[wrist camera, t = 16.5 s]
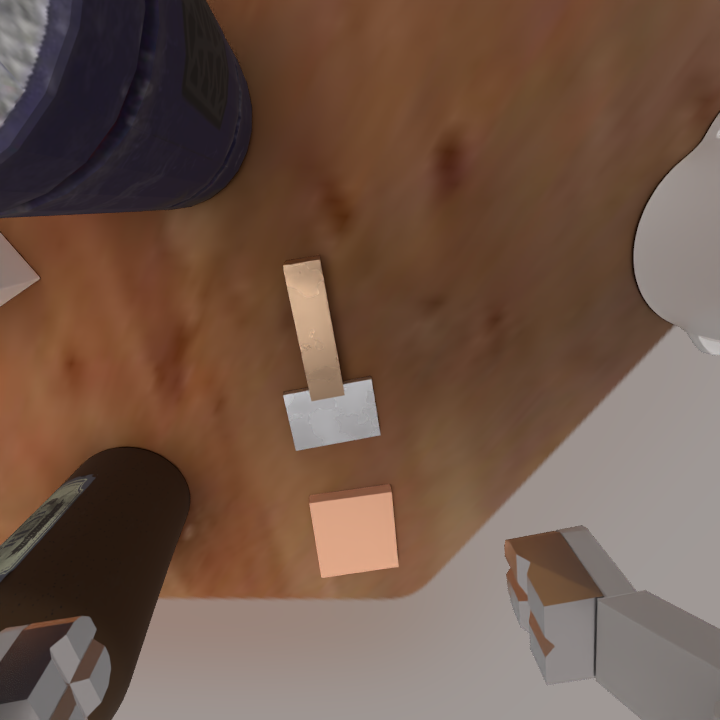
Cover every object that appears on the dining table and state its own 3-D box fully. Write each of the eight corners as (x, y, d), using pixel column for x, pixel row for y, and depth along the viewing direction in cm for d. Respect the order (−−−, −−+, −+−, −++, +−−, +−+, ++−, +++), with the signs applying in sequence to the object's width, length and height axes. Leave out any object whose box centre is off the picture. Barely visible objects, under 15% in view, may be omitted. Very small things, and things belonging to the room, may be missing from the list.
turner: (349, 249, 34) (352, 253, 31) (379, 430, 39) (384, 448, 36) (254, 265, 34) (249, 271, 31) (296, 445, 38) (294, 465, 36)
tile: (391, 491, 39) (398, 566, 42) (388, 481, 41) (395, 553, 43) (309, 503, 39) (321, 577, 42) (309, 492, 40) (321, 564, 43)
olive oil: (224, 492, 39) (86, 930, 16) (144, 568, 41) (-89, 1066, 17) (118, 413, 36) (-255, 810, 12) (36, 499, 38) (-426, 991, 14)
